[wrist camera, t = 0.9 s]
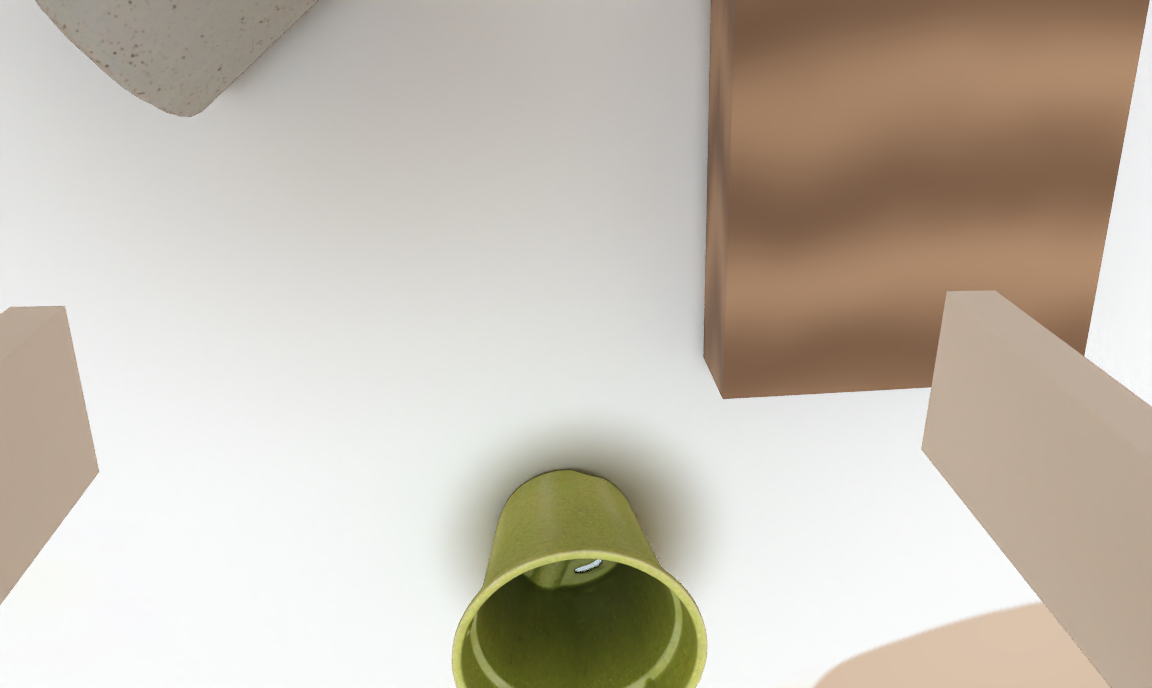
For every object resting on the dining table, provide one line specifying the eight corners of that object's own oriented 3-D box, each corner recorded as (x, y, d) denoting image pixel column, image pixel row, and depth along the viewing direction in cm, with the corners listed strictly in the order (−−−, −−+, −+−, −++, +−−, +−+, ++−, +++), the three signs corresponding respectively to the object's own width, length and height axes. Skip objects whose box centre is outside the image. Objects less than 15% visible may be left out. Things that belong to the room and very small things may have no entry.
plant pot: (705, 557, 46) (748, 691, 38) (526, 644, 47) (530, 791, 39) (611, 398, 42) (636, 509, 34) (420, 496, 43) (401, 624, 35)
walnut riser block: (712, -55, 35) (736, -53, 32) (1095, -68, 36) (1161, -68, 32) (703, 357, 42) (722, 399, 38) (1029, 339, 42) (1079, 379, 39)
